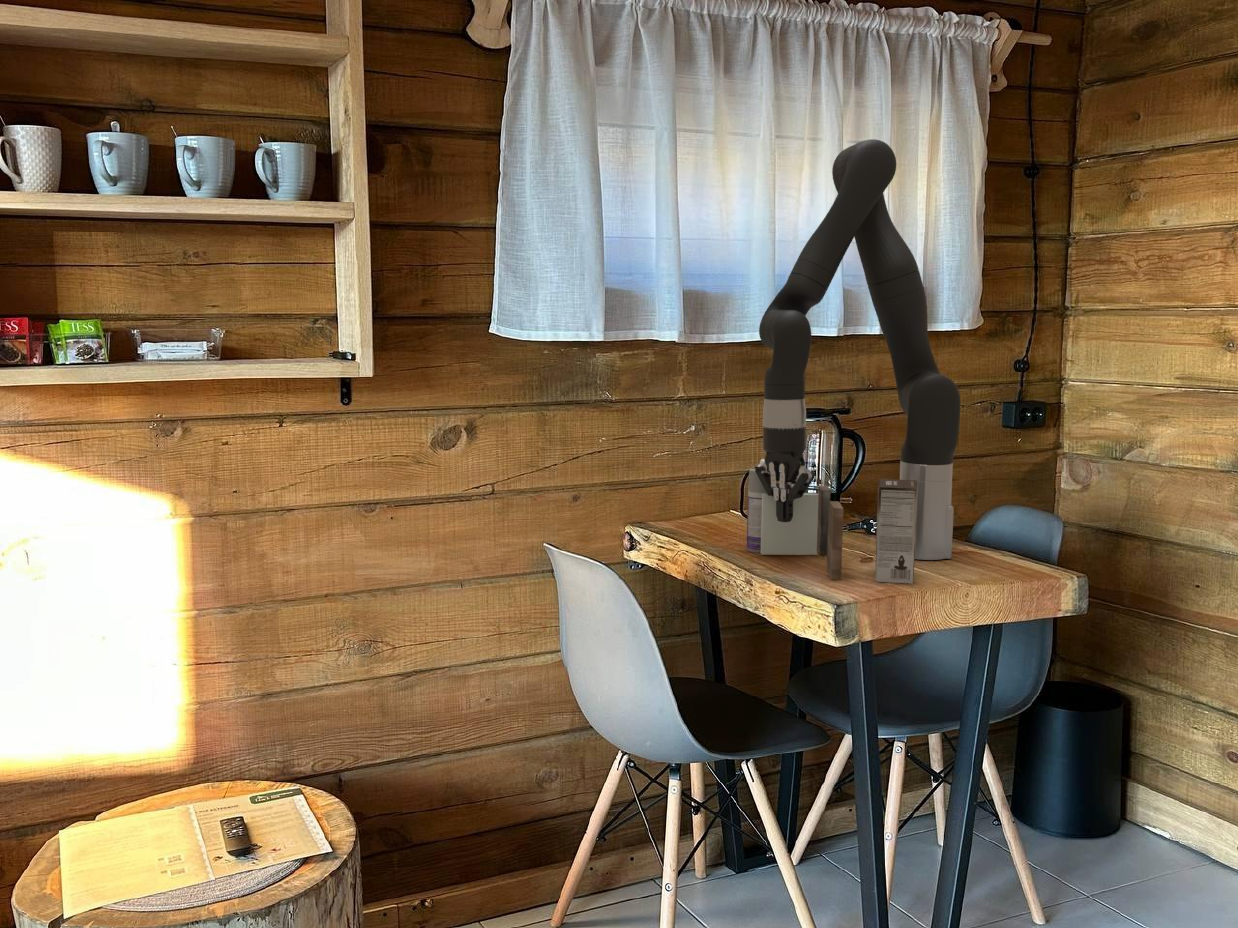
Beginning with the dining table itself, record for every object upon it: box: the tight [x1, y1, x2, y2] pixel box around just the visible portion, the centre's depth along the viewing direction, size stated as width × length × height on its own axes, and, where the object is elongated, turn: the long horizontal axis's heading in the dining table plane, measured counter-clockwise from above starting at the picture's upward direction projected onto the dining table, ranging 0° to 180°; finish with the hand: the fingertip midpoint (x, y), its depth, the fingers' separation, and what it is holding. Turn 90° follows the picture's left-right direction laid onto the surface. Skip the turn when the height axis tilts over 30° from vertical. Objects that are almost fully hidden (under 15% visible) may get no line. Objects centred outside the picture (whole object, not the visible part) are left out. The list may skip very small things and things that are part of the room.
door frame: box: [817, 485, 844, 581], centre depth 209 cm, size 2×24×12 cm, turn 176°
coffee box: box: [875, 478, 918, 585], centre depth 200 cm, size 9×6×16 cm
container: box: [746, 467, 773, 554], centre depth 220 cm, size 5×5×15 cm
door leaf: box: [760, 492, 819, 556], centre depth 216 cm, size 10×1×11 cm, turn 93°
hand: (784, 521), depth 212 cm, fingers closed
